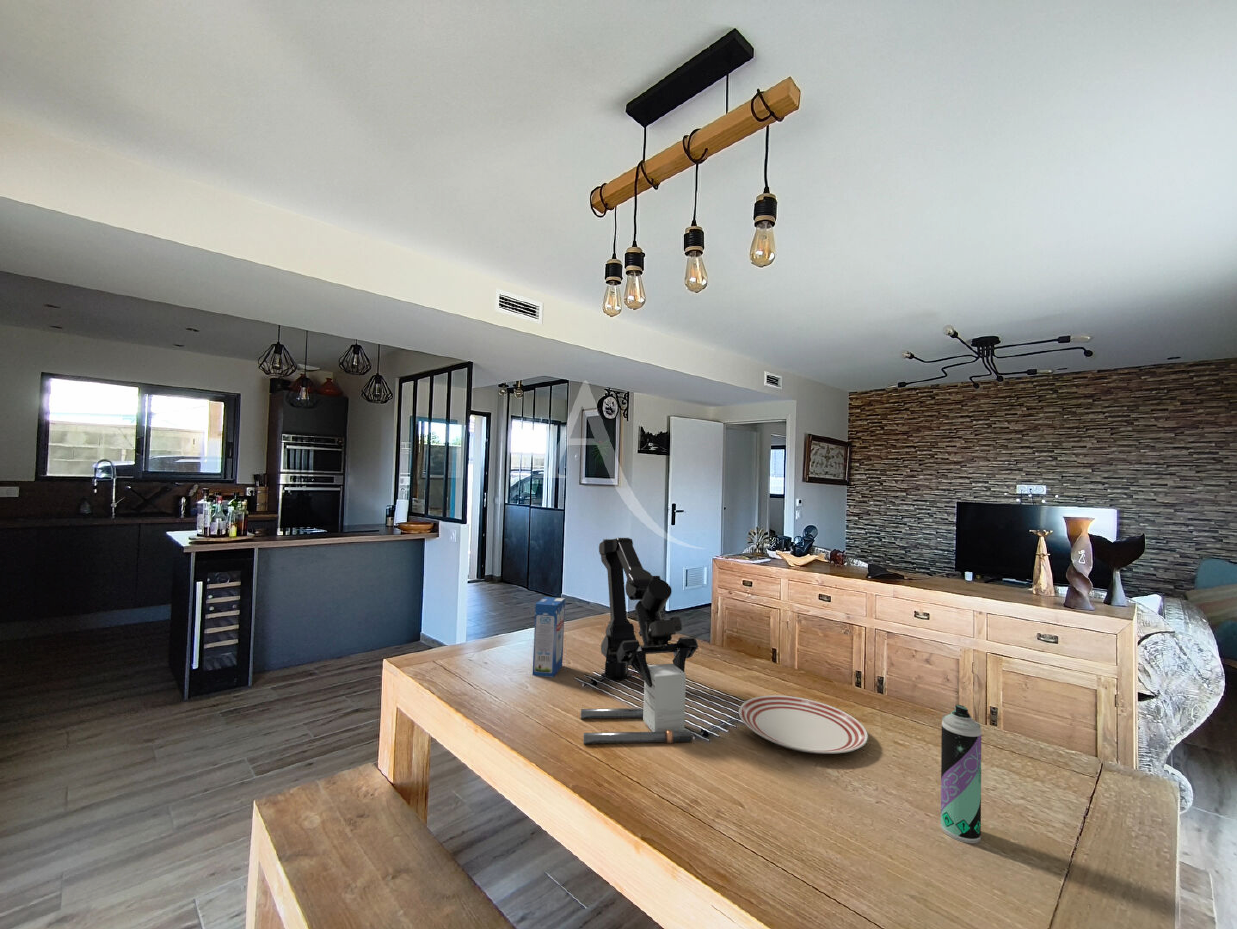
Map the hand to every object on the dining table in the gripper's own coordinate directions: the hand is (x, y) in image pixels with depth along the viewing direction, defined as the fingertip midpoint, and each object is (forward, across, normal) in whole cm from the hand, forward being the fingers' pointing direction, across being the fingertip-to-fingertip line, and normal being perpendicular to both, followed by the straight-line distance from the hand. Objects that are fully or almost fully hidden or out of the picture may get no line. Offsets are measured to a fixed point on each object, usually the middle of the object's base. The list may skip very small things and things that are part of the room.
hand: (666, 685), depth 118 cm
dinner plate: (+13, +30, +2) cm, 33 cm away
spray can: (+38, +33, -25) cm, 56 cm away
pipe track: (+5, -7, +9) cm, 12 cm away
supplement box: (+6, 0, +8) cm, 10 cm away
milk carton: (-23, -18, +39) cm, 49 cm away
